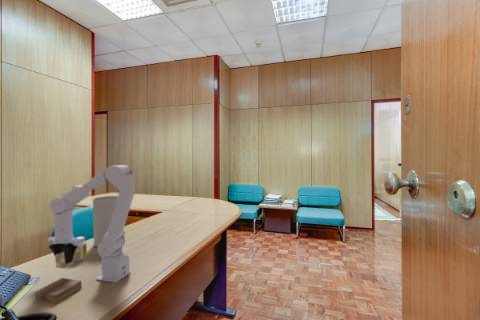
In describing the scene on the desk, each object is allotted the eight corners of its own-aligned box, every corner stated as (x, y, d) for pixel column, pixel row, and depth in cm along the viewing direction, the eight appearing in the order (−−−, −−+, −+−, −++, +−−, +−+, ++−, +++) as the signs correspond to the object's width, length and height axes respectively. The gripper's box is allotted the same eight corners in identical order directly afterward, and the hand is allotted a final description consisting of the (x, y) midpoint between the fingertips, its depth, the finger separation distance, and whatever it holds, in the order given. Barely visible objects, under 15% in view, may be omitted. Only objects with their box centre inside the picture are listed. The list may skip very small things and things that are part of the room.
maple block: (73, 263, 93) (73, 251, 93) (63, 268, 89) (63, 255, 89) (65, 262, 94) (65, 250, 94) (55, 267, 90) (55, 254, 90)
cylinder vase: (88, 245, 125) (87, 199, 125) (110, 238, 136) (109, 195, 136) (104, 249, 120) (103, 200, 119) (125, 241, 131) (124, 196, 131)
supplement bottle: (84, 255, 113) (84, 235, 113) (88, 258, 109) (88, 237, 109) (71, 259, 109) (70, 238, 108) (74, 262, 105) (74, 240, 105)
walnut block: (81, 289, 84) (81, 280, 84) (56, 304, 75) (56, 295, 75) (62, 286, 86) (62, 277, 86) (35, 300, 78) (35, 291, 78)
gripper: (38, 229, 90) (39, 264, 90) (68, 231, 86) (69, 268, 86) (57, 224, 96) (58, 256, 97) (85, 226, 93) (86, 260, 93)
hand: (64, 261), depth 92 cm, fingers closed on maple block, 4 cm apart
